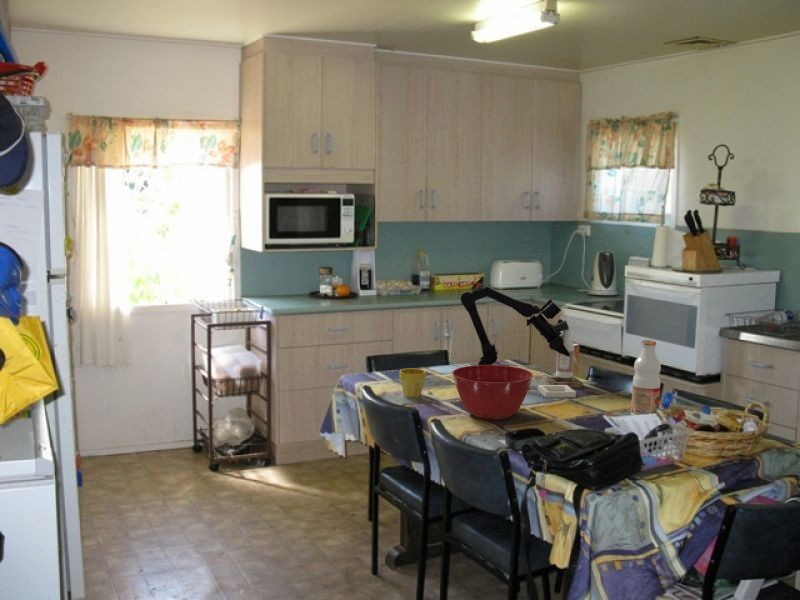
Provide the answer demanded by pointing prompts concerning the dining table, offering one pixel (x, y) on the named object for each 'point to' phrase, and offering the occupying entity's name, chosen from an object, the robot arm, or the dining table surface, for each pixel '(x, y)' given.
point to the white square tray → (556, 391)
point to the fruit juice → (646, 381)
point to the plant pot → (412, 381)
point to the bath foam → (565, 358)
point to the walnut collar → (565, 382)
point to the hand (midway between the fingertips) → (568, 354)
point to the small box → (576, 358)
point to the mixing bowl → (492, 389)
